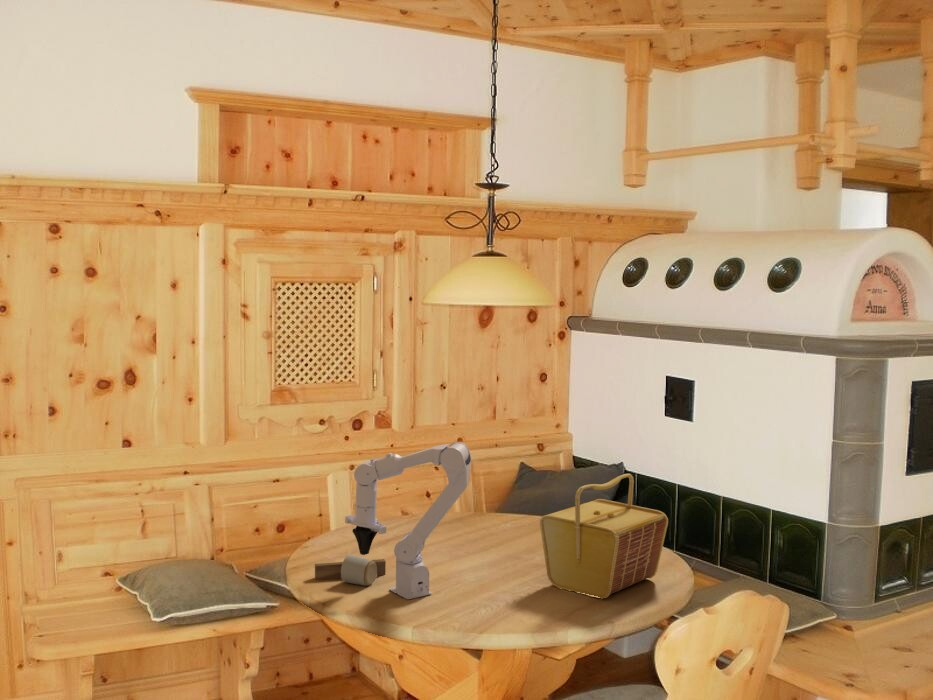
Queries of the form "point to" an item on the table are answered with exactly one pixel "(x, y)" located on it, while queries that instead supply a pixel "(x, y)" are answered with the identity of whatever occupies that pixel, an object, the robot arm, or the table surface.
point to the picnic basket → (602, 543)
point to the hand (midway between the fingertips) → (364, 553)
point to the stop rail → (335, 569)
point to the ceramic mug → (358, 570)
